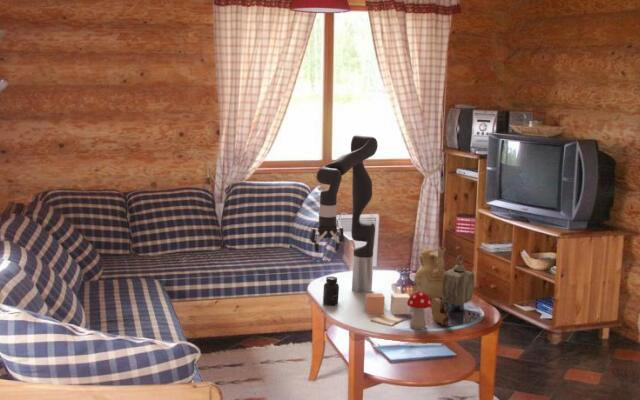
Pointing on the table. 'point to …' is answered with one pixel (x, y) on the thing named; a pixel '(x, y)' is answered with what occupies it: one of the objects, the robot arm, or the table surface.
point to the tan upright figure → (431, 273)
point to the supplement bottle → (331, 291)
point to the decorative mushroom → (419, 309)
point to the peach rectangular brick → (374, 303)
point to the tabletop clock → (457, 285)
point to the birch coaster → (386, 319)
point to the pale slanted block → (400, 304)
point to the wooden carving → (439, 311)
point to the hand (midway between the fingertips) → (326, 251)
